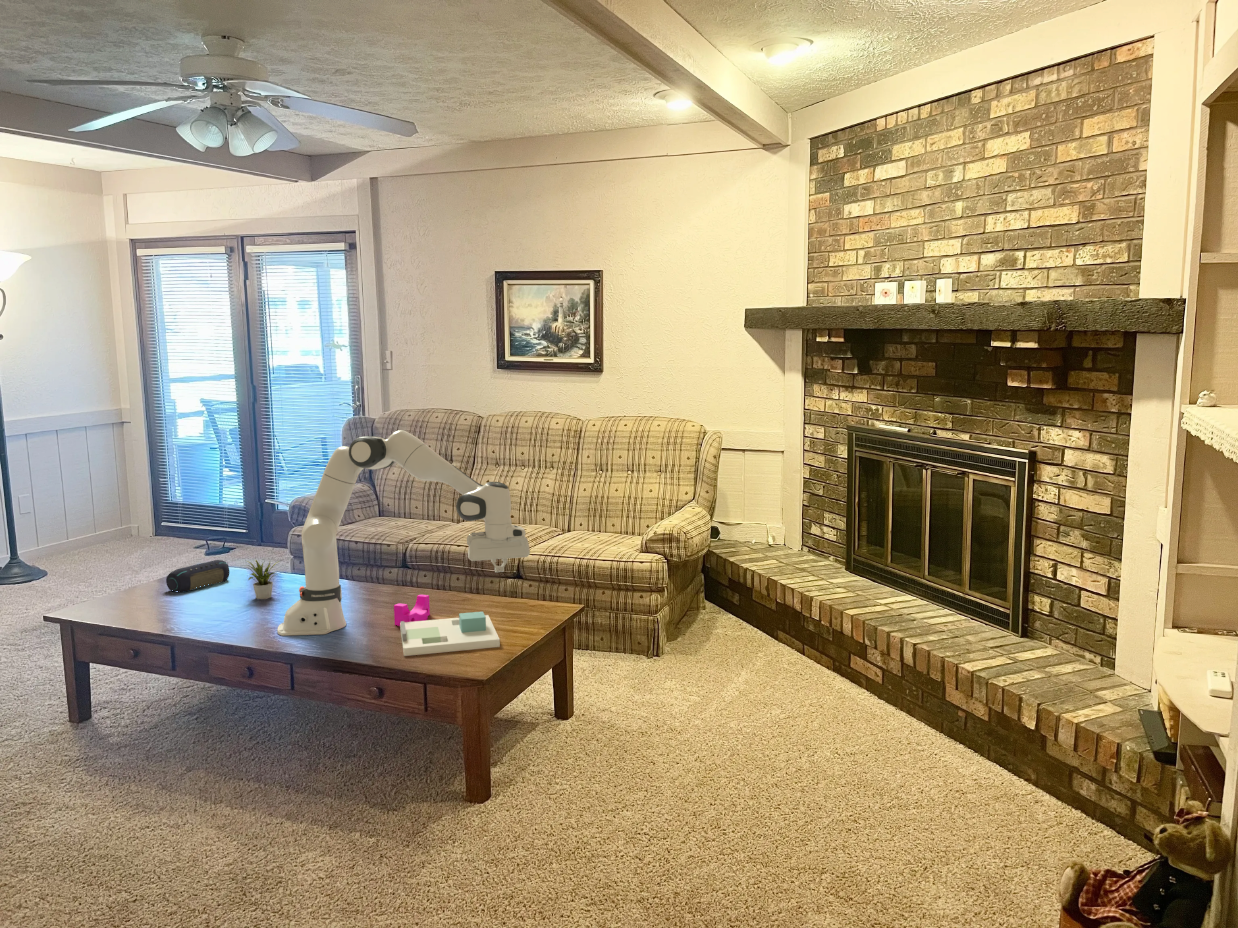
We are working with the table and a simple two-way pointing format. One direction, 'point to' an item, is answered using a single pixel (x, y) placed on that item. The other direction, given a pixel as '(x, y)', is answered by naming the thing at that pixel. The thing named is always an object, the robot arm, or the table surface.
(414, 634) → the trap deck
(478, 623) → the teal block
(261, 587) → the house plant
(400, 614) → the toy block
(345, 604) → the table surface
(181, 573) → the portable speaker
